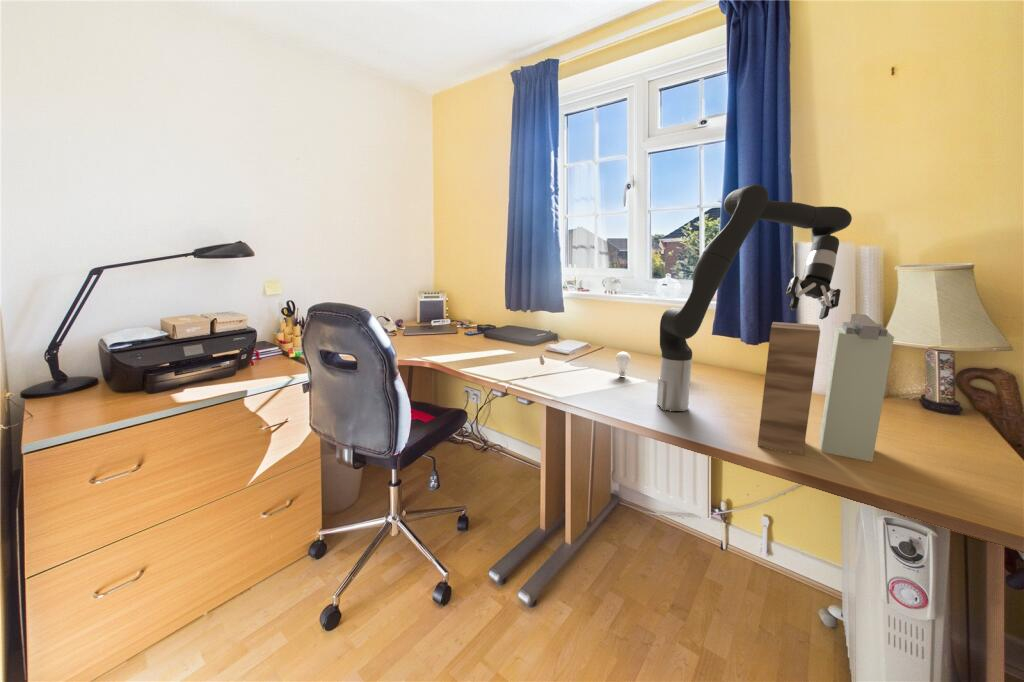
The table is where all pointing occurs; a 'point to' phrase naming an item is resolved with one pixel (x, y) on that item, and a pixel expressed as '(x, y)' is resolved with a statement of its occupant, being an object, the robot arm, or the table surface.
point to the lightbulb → (622, 362)
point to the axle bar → (865, 326)
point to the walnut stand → (788, 386)
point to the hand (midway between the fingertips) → (807, 314)
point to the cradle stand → (855, 393)
